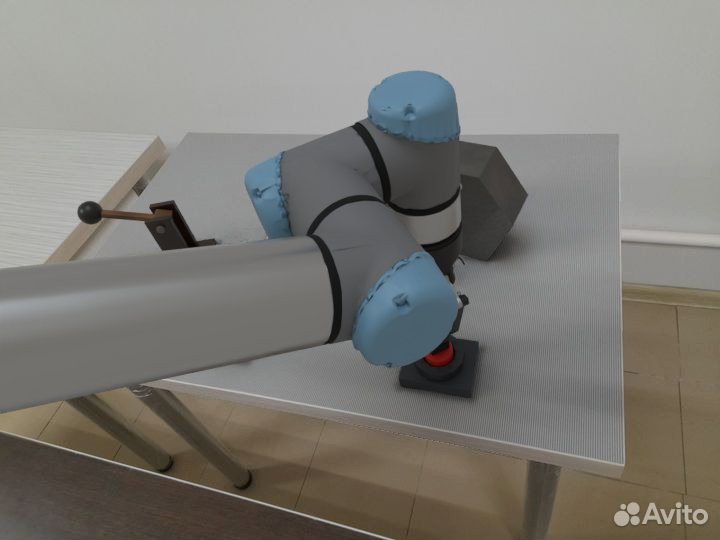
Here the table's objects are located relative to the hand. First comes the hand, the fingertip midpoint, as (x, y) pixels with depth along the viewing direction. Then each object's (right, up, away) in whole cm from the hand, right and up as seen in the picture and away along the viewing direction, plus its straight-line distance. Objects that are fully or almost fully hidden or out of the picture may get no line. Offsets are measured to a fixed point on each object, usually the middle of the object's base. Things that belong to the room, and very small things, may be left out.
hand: (438, 347), depth 72 cm
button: (0, -2, +2) cm, 2 cm away
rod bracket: (-43, +12, +28) cm, 53 cm away
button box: (+1, -3, +4) cm, 5 cm away
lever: (-52, +19, +21) cm, 59 cm away
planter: (+7, +16, +20) cm, 27 cm away
